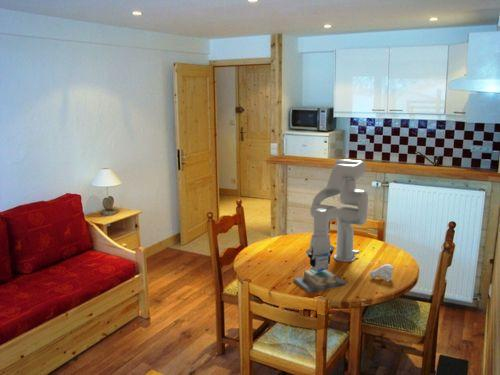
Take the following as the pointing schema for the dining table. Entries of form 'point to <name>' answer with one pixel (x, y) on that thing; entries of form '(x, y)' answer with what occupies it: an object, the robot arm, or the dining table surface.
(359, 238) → the dining table surface
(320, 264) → the medicine box
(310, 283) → the plinth
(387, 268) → the grey rock
